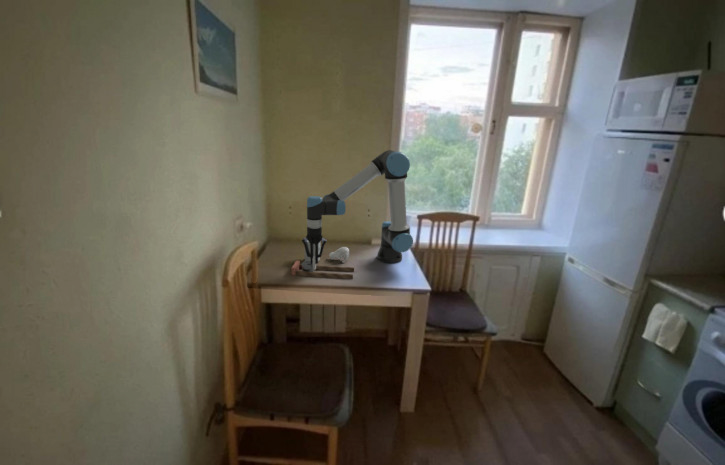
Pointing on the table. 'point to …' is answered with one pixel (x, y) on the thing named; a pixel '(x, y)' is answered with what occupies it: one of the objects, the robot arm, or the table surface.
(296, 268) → the stop block
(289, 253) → the table surface
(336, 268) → the guide rails
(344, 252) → the white figurine
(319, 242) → the supplement box
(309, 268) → the cylinder
